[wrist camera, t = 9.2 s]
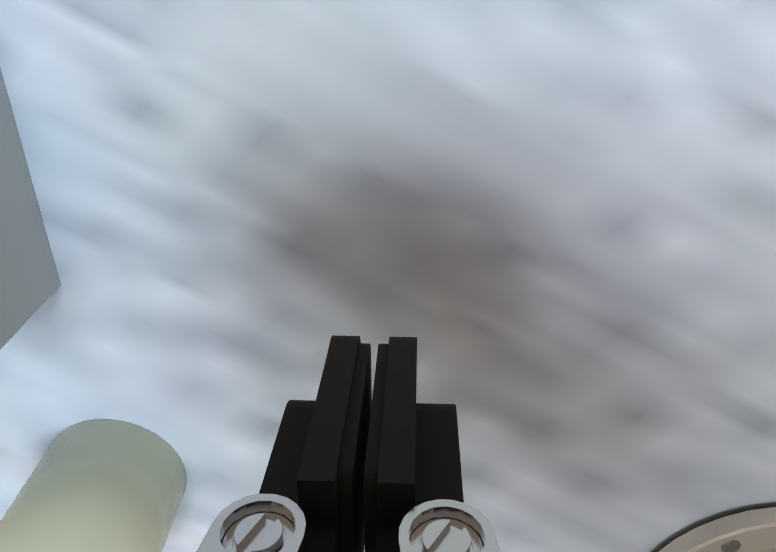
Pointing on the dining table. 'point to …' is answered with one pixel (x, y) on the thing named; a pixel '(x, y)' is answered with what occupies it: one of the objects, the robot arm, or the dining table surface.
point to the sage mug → (98, 493)
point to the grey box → (20, 233)
